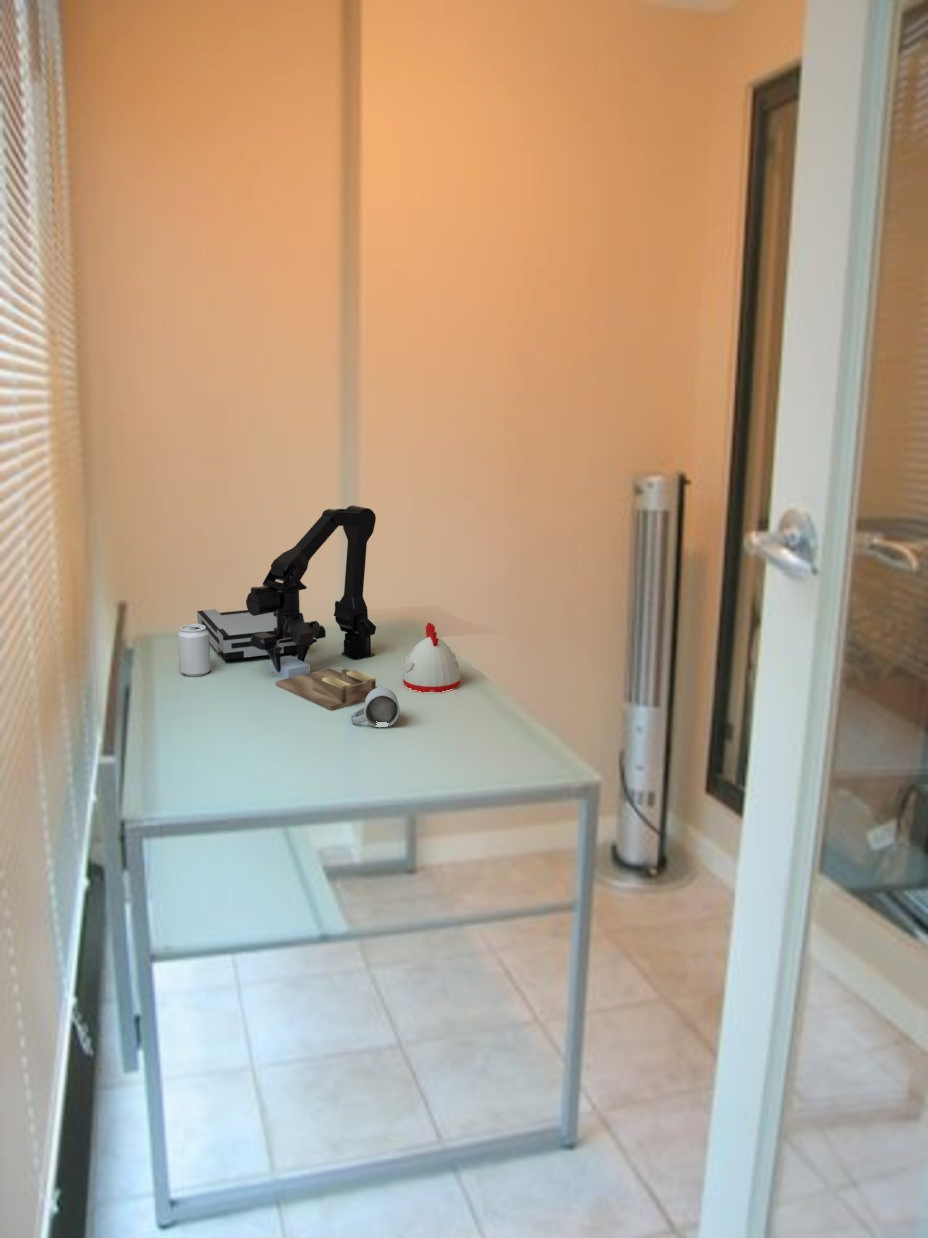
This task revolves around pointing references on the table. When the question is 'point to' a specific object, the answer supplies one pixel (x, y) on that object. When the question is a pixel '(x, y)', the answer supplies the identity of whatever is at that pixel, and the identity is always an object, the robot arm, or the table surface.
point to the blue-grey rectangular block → (290, 667)
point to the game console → (240, 633)
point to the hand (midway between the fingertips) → (289, 669)
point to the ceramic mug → (378, 708)
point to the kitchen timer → (431, 665)
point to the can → (194, 650)
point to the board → (331, 687)
